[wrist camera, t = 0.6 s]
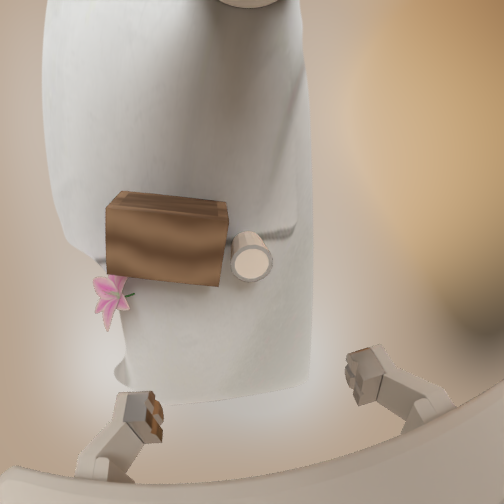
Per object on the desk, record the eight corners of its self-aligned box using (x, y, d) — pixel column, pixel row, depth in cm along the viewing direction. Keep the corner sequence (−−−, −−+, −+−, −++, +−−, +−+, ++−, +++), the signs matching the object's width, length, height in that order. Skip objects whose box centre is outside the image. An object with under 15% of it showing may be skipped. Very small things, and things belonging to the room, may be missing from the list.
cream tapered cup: (242, 268, 58) (246, 289, 51) (220, 242, 54) (221, 261, 48) (272, 248, 56) (280, 267, 50) (252, 220, 53) (258, 236, 47)
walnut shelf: (121, 190, 48) (105, 207, 40) (225, 202, 51) (229, 221, 43) (120, 249, 52) (106, 274, 44) (216, 259, 56) (218, 286, 48)
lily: (147, 253, 55) (114, 261, 46) (162, 314, 56) (132, 331, 47) (103, 262, 58) (70, 271, 49) (117, 317, 59) (87, 332, 50)
